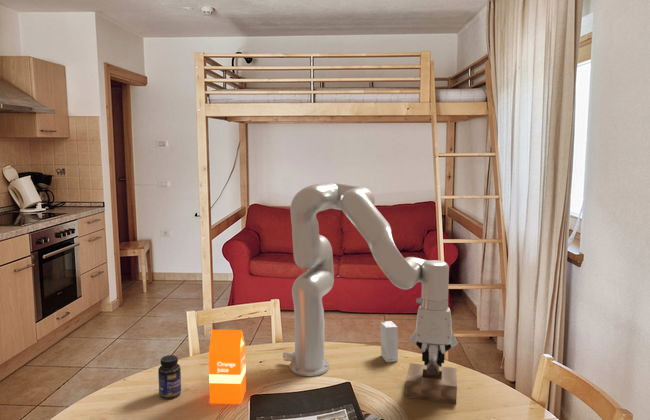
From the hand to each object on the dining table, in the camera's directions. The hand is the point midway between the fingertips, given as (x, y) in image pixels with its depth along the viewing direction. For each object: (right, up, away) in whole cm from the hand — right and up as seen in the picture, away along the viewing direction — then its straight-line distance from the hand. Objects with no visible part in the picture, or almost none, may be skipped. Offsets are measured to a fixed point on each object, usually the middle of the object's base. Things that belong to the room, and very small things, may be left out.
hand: (433, 363), depth 144 cm
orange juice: (-59, -9, -3) cm, 60 cm away
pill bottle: (-76, -9, -2) cm, 77 cm away
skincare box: (-10, -6, +23) cm, 26 cm away
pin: (0, -3, 0) cm, 3 cm away
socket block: (0, -8, +1) cm, 8 cm away
